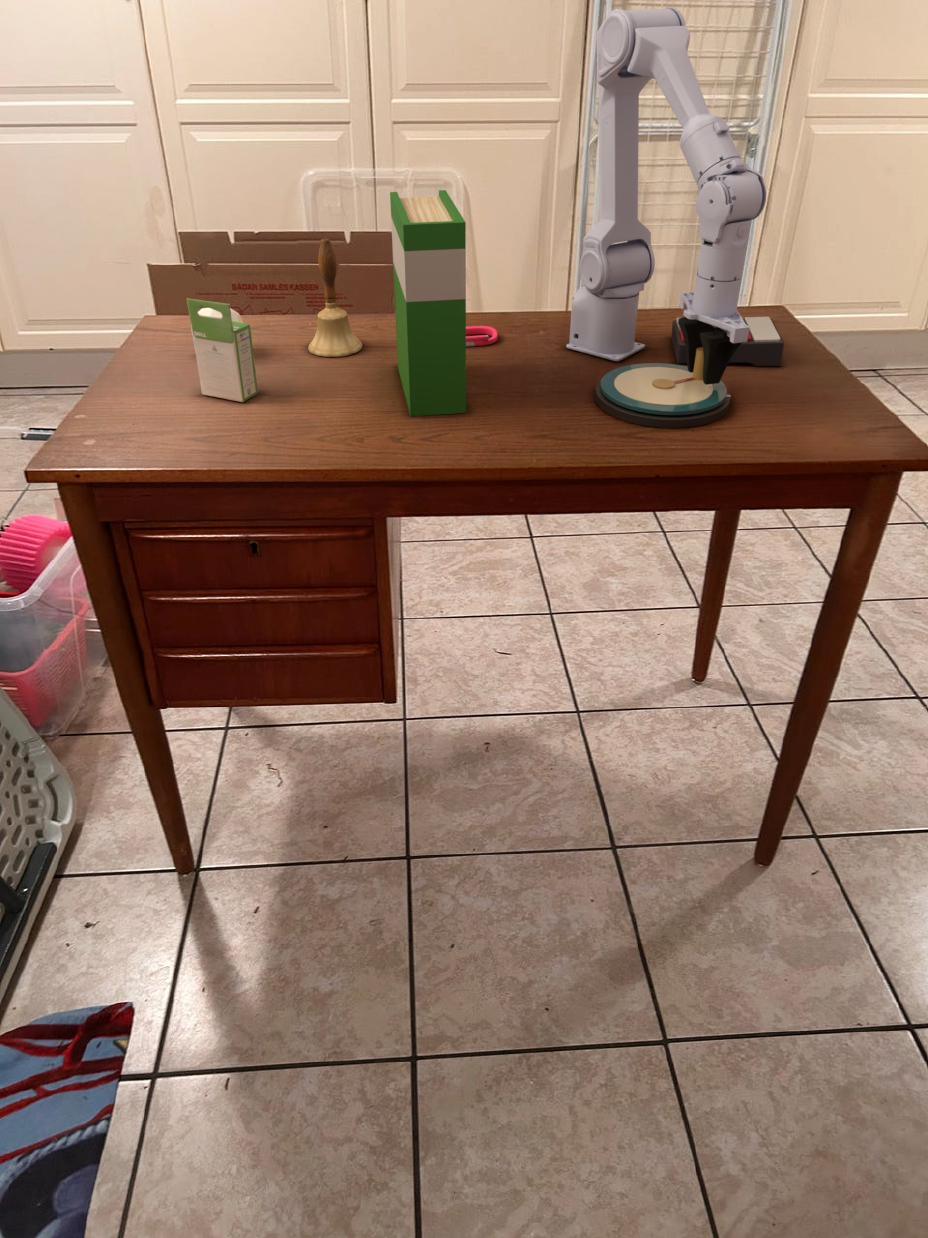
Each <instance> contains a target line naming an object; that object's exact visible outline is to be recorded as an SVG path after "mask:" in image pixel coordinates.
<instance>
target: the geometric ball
mask: <svg viewBox="0 0 928 1238" xmlns="http://www.w3.org/2000/svg"><path fill="white" fill-rule="evenodd" d="M230 310H231V318H232V321H234V322H240V323H244V321H243V319H242V316H241V315H240V313H239V312H238V311H236V310H235V309H233V308H231V307H230ZM198 313H199V315H203V316H210V317H218V318H221V317H222V314H221V313H220V312H218V311H216V310H214V309H211V308H202V309H199V310H198Z"/></svg>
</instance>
